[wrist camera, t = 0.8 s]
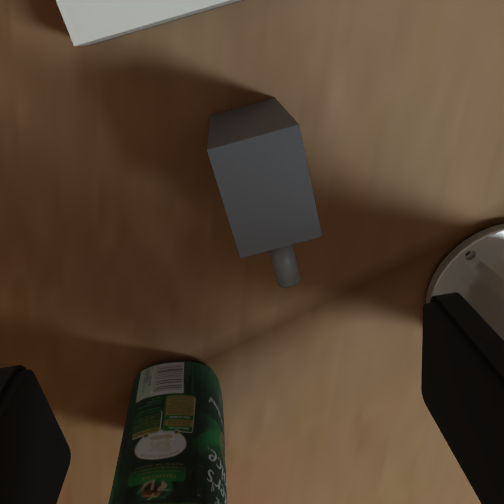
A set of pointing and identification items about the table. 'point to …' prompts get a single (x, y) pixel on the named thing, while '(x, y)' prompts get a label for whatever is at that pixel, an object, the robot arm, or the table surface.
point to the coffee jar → (172, 438)
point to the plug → (264, 183)
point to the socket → (125, 16)
